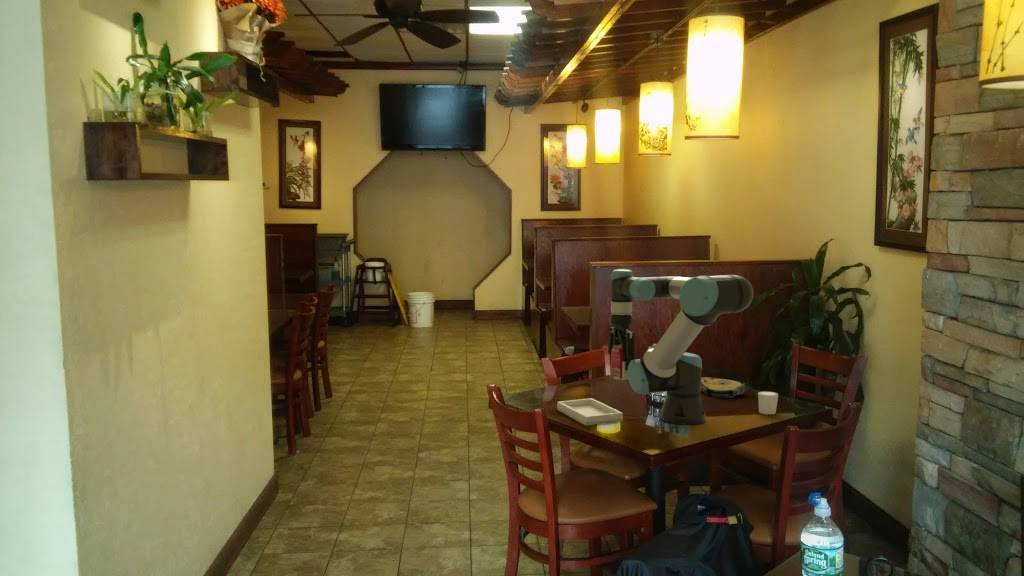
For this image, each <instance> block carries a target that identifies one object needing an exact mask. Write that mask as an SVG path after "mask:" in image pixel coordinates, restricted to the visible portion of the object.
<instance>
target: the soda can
mask: <svg viewBox="0 0 1024 576" xmlns="http://www.w3.org/2000/svg"><path fill="white" fill-rule="evenodd" d="M622 360H624V356H623V351H622V345H621V344H619V345H613V348H612V350H611V355H610V375H611V378H613V379H614V380H616V381H626V380H628V379H625V380H623V379H622V372H623V361H622Z"/></svg>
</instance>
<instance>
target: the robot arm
mask: <svg viewBox="0 0 1024 576" xmlns="http://www.w3.org/2000/svg"><path fill="white" fill-rule="evenodd" d="M610 279H611V280H610V312H611V314H610V324H611V325H612V327H608V333H609V334H608V349H607V354H608V355H609V356H611V350H612V348H613V345H619V344H621V345H622V351H623V356H624V360H622V361H623V372H622V379H623V380H622V381H626V380H625V379H627V380H628V382H629V385H630V387H631V389H632V390H633V391H634V392H635V393H636V394H638V395H650V394H657V393H663V392H664V393H666V397H665V399H664V402H663V403H662V404H663V405H662V407H661V408H662V409H660V419H661V420H662V421H665V422H666V423H671V424H677V425H697V424H698V425H699V424H702V423H704V422H705V421H706V411H705V407H704V405H703V400H702V391H701V378H702V375H703V374H702V371H703V363H702V357H701V356H700V355H698V354H695V353H692V352H686V351H687V350H688V348H690V346H691V344H693V342H694V340H695V339H696V338H697V336H698V335H699V334H700V333H701V331H702V330H703V329H704V327H709V326H711V325H713V323H714V322H715V321H716V320H717V318H718V317H720V315H723V314H726V315H727V314H736V313H740V312H742V311H744V310H745V309H747V308H748V307H749V306H750V305H751V303H752V301H753V299H754V288H753V286H752V283H751V281H749V280H748V279H747V278H745V277H743V276H741V275H737V274H725V275H723V274H722V275H721V274H720V275H698V276H693V277H685V276H680V275H670V276H669V275H668V276H652V277H651V276H649V277H645V276H644V277H636V276H634V275H633V270H631V269H613V271H612V272H611V277H610ZM654 299H673V300H674V299H677V300H679V305H680V311H679V312H678V314H677V315H676V317H675V318H674V319H673V321H672V322H671V324H670V326H669V327H668V328H667V329H666V330H665V332H664V334H663V335H662V337H661V338H660V339H659V340H658V342H657V343H656V344H657V345H656V346H655V348H652V349H649V350H648V349H647V350H646V351H645V352H644V353H643V355H642V357H641V358H639V359H638V358H635V341H634V339H635V338H634V337H635V331H630V325H633V314H632V313H633V300H637V301H640V302H641V301H643V302H644V301H645V302H646V301H650V300H654Z"/></svg>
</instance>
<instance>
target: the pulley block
mask: <svg viewBox="0 0 1024 576" xmlns="http://www.w3.org/2000/svg"><path fill="white" fill-rule="evenodd" d="M748 389H750V390H754V387H750V386H747V383H741V382H740V381H737V380H731V379H725V378H716V377H710V376H709V377H708V376H707V377H706V376H704V377H702V376H701V393H704V394H705V395H707V396H710V397H715V398H724V399H726V398H727V399H728V398H730V399H731V398H734V397H735V396H736V397H737V396H738V395H744V393H745V392H746V391H747V390H748Z"/></svg>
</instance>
